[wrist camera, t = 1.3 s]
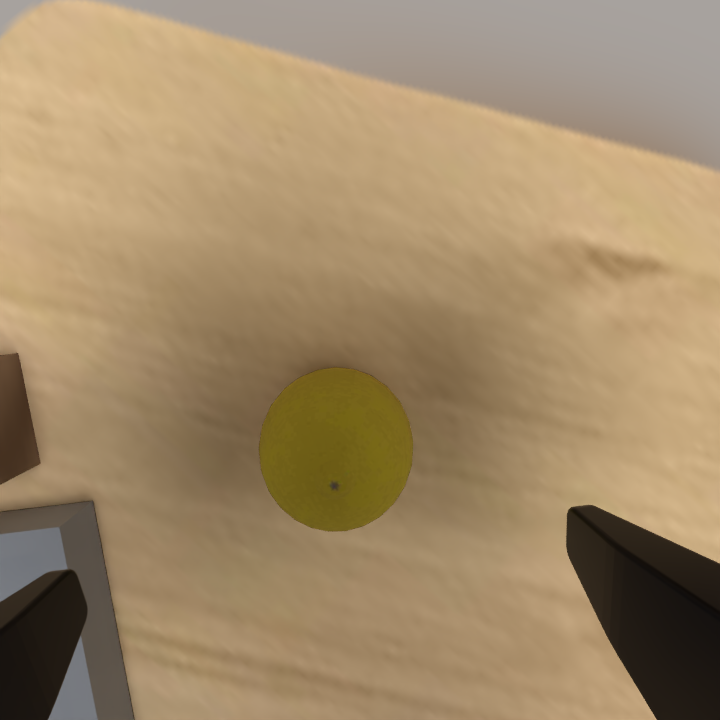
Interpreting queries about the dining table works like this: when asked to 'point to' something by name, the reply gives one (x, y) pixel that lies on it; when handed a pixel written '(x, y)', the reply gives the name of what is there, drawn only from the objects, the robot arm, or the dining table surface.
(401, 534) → the dining table surface
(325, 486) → the lemon
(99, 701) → the dish
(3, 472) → the walnut block
